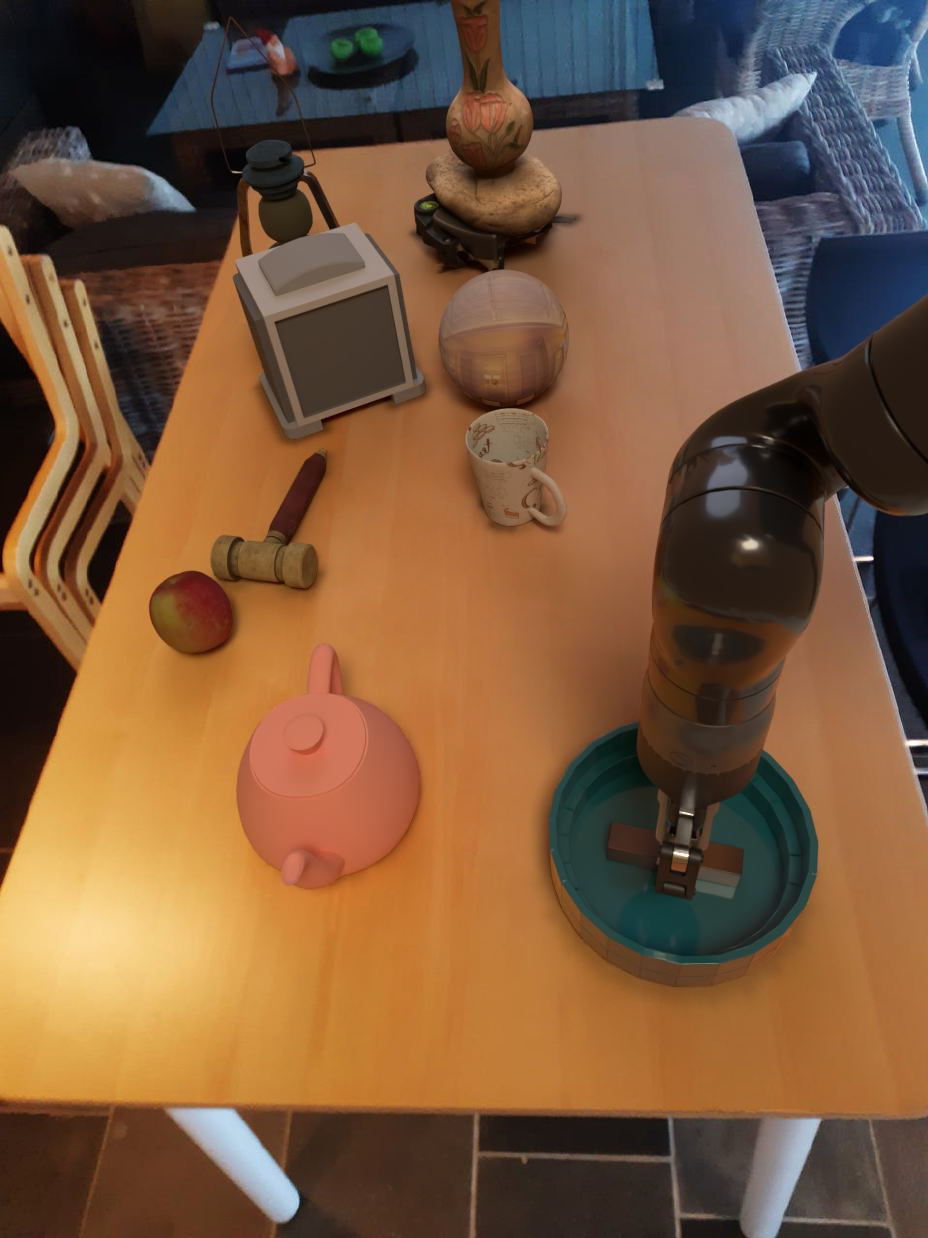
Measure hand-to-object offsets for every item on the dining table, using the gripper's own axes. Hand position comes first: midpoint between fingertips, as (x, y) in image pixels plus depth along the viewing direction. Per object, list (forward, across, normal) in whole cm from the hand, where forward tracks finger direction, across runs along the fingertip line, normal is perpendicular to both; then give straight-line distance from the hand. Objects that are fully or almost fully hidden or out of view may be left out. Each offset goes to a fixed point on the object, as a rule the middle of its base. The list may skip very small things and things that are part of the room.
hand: (681, 828), depth 65 cm
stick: (+5, -1, 0) cm, 5 cm away
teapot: (+5, -3, +28) cm, 29 cm away
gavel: (+5, +29, +45) cm, 54 cm away
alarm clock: (+6, +52, +48) cm, 72 cm away
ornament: (+6, +54, +28) cm, 61 cm away
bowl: (+5, 0, 0) cm, 5 cm away
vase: (+6, +88, +39) cm, 97 cm away
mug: (+6, +34, +20) cm, 40 cm away
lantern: (+6, +70, +61) cm, 93 cm away
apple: (+5, +12, +48) cm, 50 cm away
